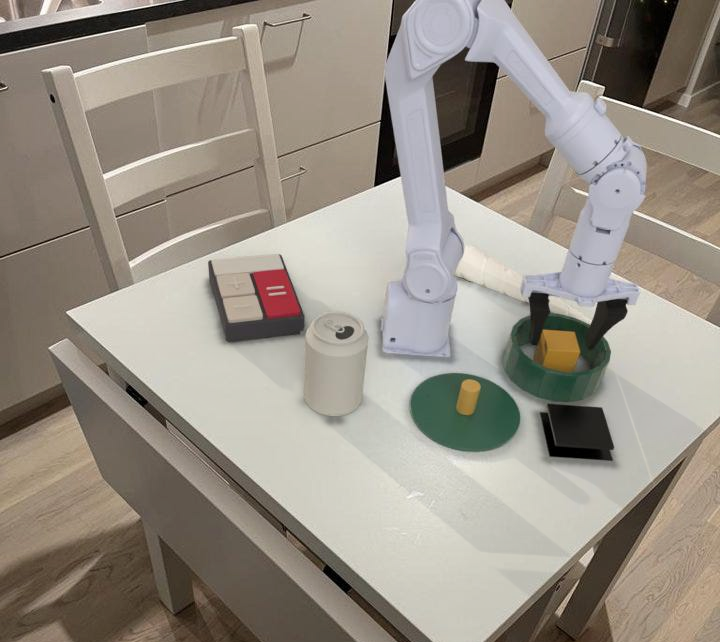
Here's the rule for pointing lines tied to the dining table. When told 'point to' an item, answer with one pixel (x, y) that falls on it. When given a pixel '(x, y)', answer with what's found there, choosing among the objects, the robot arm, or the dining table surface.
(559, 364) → the block
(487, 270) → the unicorn horn
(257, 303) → the calculator
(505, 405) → the tin lid
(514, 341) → the tin
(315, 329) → the can
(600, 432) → the stand
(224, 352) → the dining table surface
